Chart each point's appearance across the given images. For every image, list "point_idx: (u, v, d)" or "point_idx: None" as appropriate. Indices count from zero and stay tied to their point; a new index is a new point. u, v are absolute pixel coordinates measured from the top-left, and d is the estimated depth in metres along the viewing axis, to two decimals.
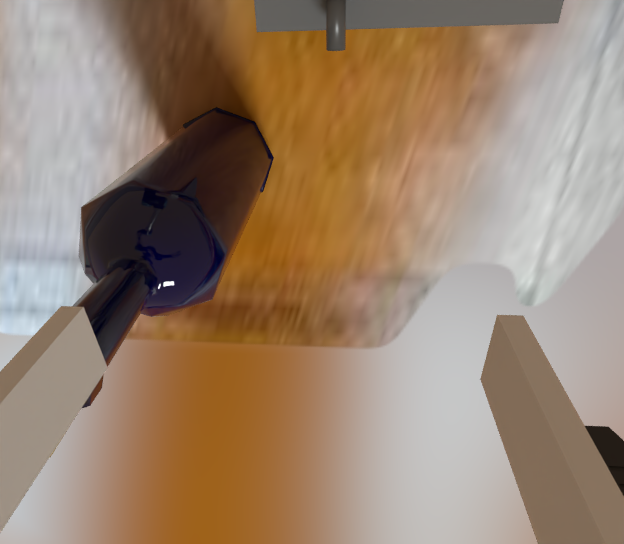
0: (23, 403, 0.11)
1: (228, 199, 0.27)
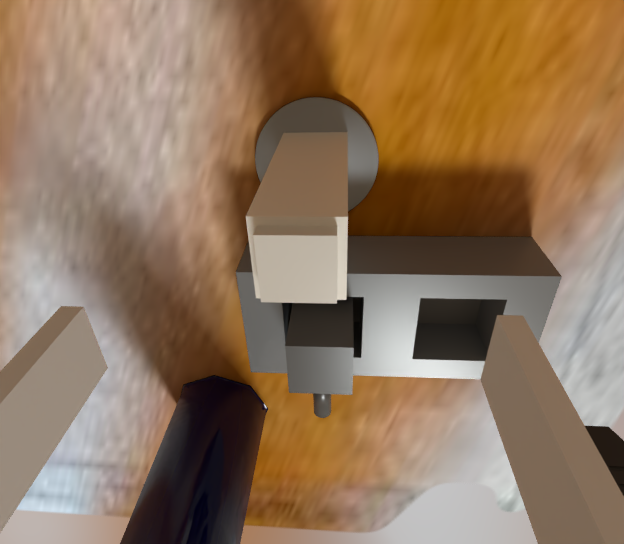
0: (23, 403, 0.11)
1: None
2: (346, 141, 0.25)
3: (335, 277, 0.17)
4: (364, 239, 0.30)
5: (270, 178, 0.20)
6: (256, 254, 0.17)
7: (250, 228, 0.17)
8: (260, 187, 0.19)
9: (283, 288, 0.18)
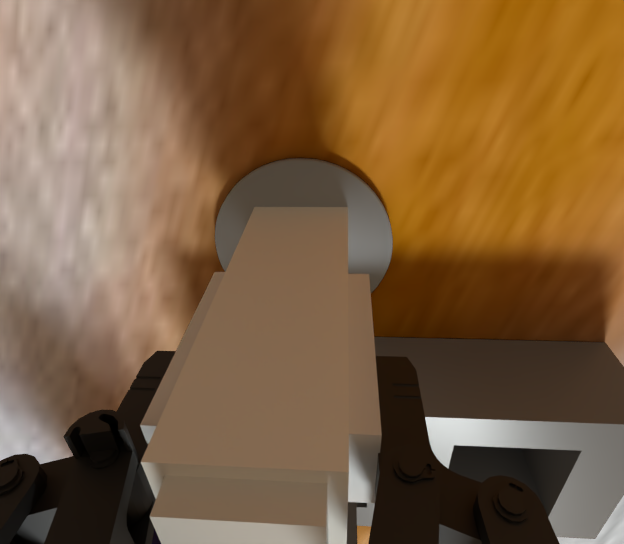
0: None
1: None
2: (346, 228, 0.16)
3: None
4: None
5: (215, 324, 0.12)
6: (162, 540, 0.08)
7: (153, 478, 0.08)
8: (192, 353, 0.11)
9: None
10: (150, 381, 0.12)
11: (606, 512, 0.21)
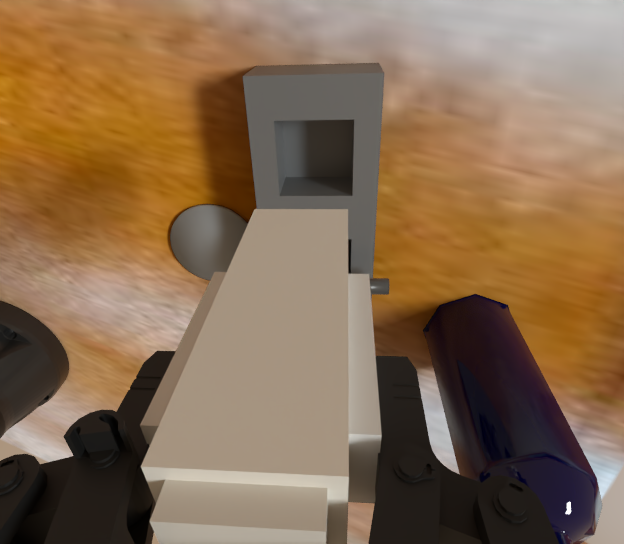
0: None
1: (499, 410, 0.31)
2: (346, 231, 0.16)
3: None
4: None
5: (215, 327, 0.12)
6: None
7: (153, 482, 0.09)
8: (192, 357, 0.11)
9: None
10: (150, 381, 0.12)
11: (343, 78, 0.27)
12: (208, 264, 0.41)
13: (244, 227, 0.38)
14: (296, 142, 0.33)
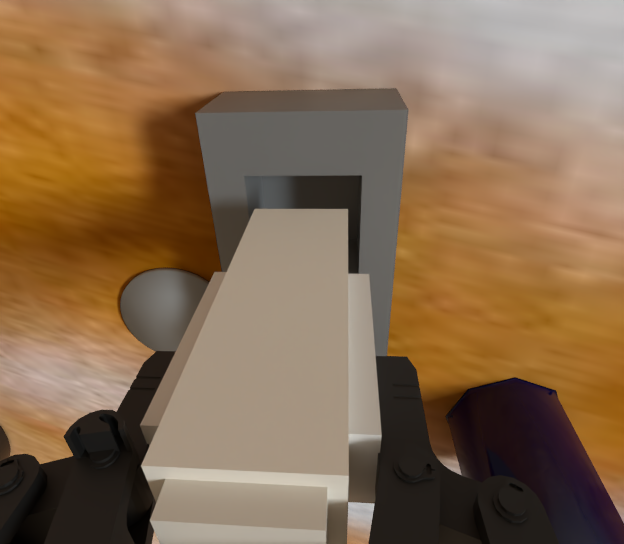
0: None
1: None
2: (346, 231, 0.16)
3: None
4: None
5: (215, 327, 0.12)
6: None
7: (154, 481, 0.09)
8: (192, 356, 0.11)
9: None
10: (150, 381, 0.12)
11: (346, 117, 0.18)
12: (171, 339, 0.32)
13: None
14: (280, 195, 0.24)
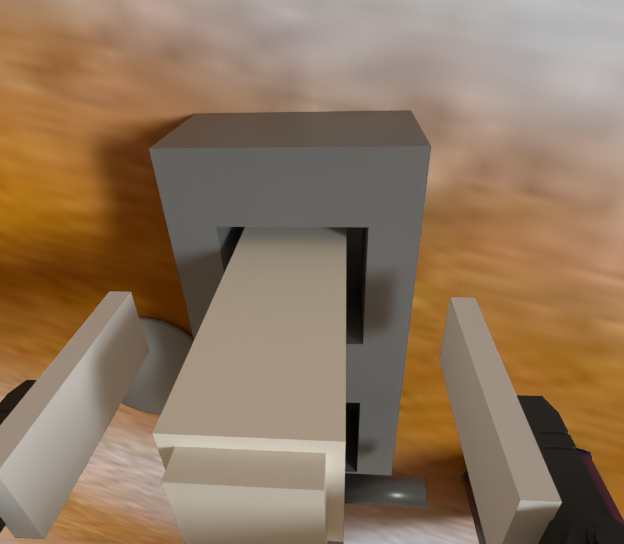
0: (84, 379, 0.12)
1: None
2: None
3: (322, 540, 0.09)
4: None
5: (219, 310, 0.12)
6: (172, 506, 0.09)
7: (164, 449, 0.09)
8: (198, 337, 0.11)
9: None
10: (6, 415, 0.11)
11: (348, 154, 0.13)
12: (144, 393, 0.27)
13: None
14: None
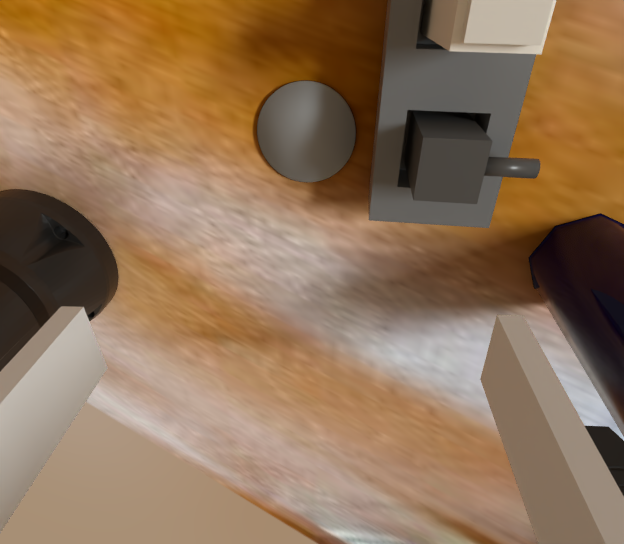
0: (23, 403, 0.11)
1: None
2: None
3: (549, 9, 0.17)
4: (378, 94, 0.32)
5: None
6: None
7: None
8: None
9: (492, 24, 0.18)
10: None
11: None
12: (296, 159, 0.36)
13: (346, 112, 0.33)
14: None
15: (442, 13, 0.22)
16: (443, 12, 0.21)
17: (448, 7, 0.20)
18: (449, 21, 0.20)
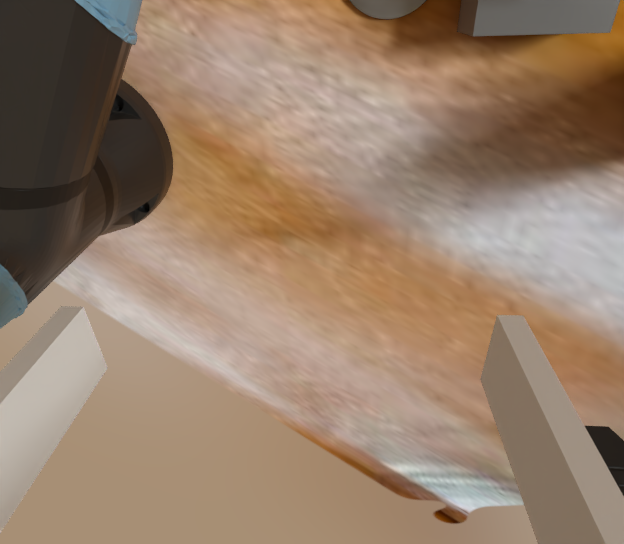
0: (23, 403, 0.11)
1: None
2: None
3: None
4: None
5: None
6: None
7: None
8: None
9: None
10: None
11: None
12: None
13: None
14: None
15: None
16: None
17: None
18: None
